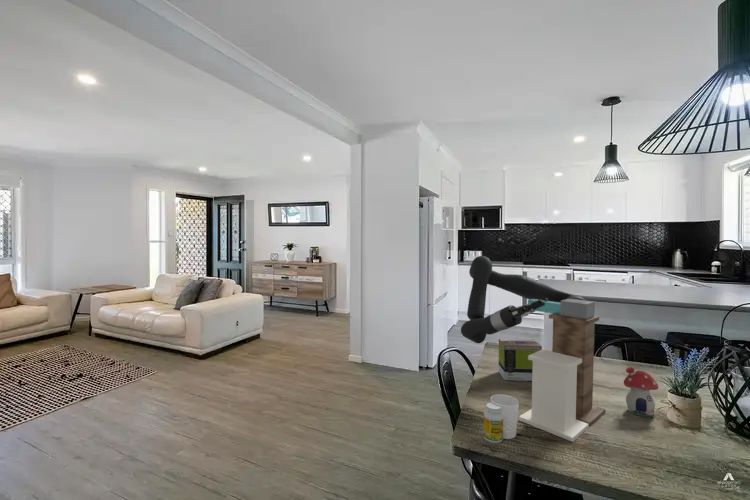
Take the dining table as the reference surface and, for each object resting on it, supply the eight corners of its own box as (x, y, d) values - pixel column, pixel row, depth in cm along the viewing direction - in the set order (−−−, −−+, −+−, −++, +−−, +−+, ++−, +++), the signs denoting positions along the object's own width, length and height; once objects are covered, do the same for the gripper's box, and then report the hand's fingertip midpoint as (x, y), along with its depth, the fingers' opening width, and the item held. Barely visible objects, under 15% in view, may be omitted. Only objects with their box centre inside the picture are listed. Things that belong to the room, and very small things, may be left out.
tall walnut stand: (605, 412, 121) (608, 316, 120) (589, 426, 112) (592, 323, 111) (555, 396, 133) (558, 309, 132) (538, 408, 124) (540, 314, 123)
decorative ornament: (622, 412, 121) (623, 367, 121) (623, 405, 127) (624, 362, 126) (657, 421, 116) (659, 374, 115) (657, 413, 121) (658, 368, 121)
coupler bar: (594, 316, 120) (594, 301, 120) (586, 319, 115) (586, 304, 115) (534, 307, 135) (534, 294, 135) (525, 310, 131) (525, 296, 130)
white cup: (516, 428, 110) (517, 396, 110) (519, 442, 103) (520, 407, 103) (489, 424, 113) (490, 392, 112) (489, 437, 105) (490, 403, 105)
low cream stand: (588, 427, 111) (590, 359, 111) (572, 441, 103) (574, 368, 103) (536, 408, 123) (538, 347, 123) (519, 420, 116) (520, 354, 115)
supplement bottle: (495, 432, 108) (496, 400, 108) (506, 442, 103) (507, 408, 103) (479, 434, 107) (480, 402, 106) (490, 444, 102) (490, 411, 101)
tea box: (533, 373, 156) (534, 339, 156) (542, 382, 146) (543, 345, 146) (497, 371, 158) (498, 337, 157) (503, 380, 148) (504, 344, 147)
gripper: (491, 311, 137) (530, 293, 125) (510, 307, 146) (549, 290, 135) (500, 330, 134) (541, 314, 123) (519, 324, 143) (559, 309, 132)
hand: (544, 301), depth 129 cm, fingers open, 4 cm apart
